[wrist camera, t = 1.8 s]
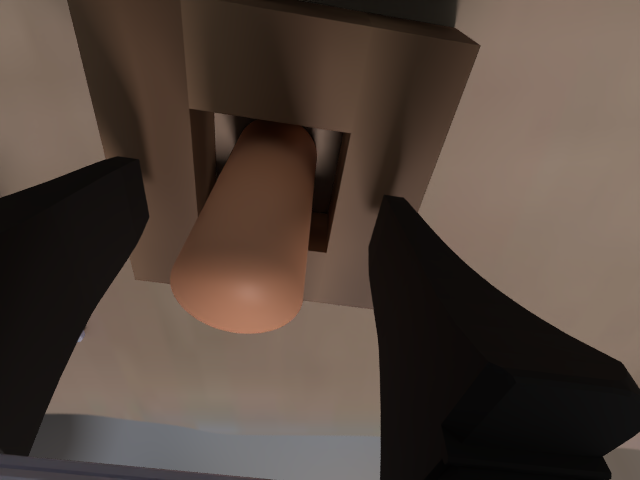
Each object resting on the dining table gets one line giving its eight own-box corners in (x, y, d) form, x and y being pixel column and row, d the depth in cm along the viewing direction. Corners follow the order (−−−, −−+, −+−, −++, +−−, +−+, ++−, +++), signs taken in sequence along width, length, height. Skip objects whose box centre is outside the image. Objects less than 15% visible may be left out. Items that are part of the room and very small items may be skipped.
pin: (236, 184, 15) (177, 325, 9) (236, 109, 13) (162, 231, 7) (311, 194, 15) (296, 339, 9) (322, 122, 13) (311, 251, 8)
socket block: (159, 240, 17) (135, 279, 15) (112, -33, 10) (60, -28, 8) (375, 269, 17) (380, 310, 15) (455, 27, 11) (480, 45, 9)
